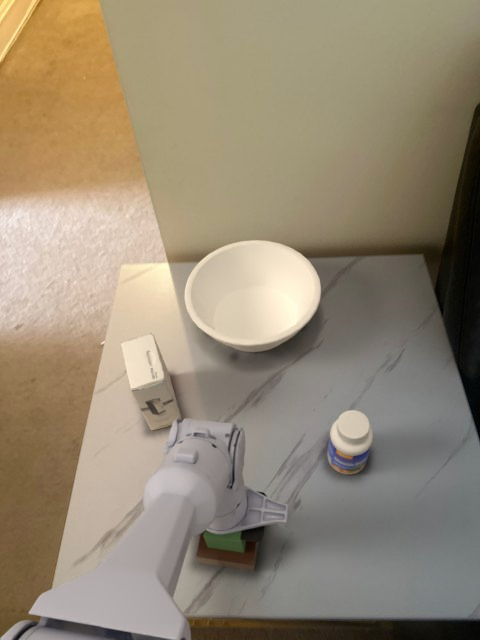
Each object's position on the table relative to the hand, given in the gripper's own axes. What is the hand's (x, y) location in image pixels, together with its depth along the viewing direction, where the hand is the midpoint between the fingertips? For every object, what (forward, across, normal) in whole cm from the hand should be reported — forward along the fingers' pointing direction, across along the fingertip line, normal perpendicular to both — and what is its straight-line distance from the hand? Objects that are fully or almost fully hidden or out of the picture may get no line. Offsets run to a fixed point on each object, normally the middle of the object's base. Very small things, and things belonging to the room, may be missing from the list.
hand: (228, 529), depth 69 cm
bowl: (+4, +2, -35) cm, 35 cm away
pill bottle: (+4, -14, -13) cm, 19 cm away
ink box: (+4, +14, -18) cm, 23 cm away
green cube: (+1, 0, 0) cm, 1 cm away
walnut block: (+4, 0, 0) cm, 4 cm away
